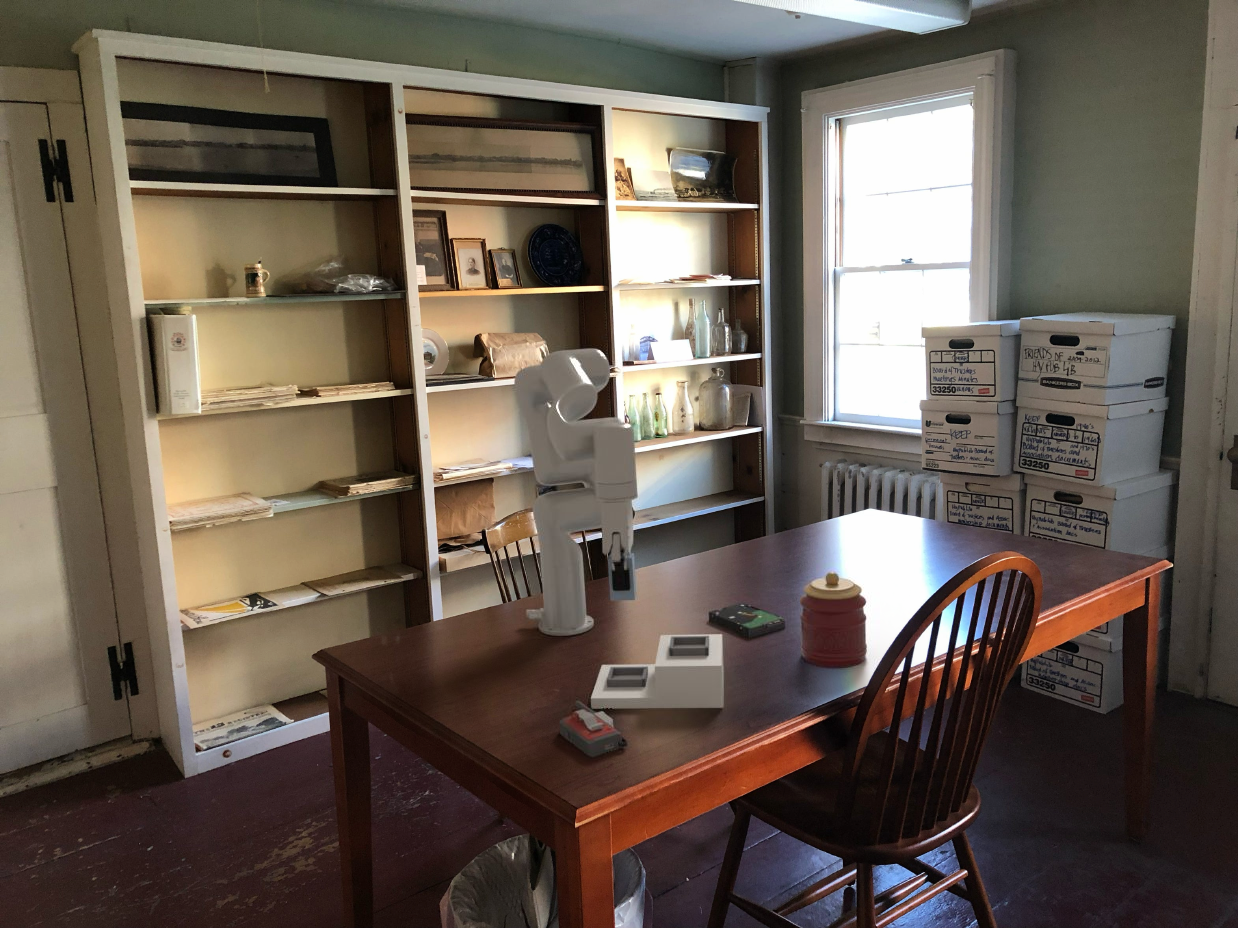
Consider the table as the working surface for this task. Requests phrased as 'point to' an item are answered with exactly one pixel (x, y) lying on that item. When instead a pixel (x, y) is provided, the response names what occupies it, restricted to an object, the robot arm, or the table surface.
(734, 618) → the disk drive
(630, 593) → the plug
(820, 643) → the canister
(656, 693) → the dock
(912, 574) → the table surface
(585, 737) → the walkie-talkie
